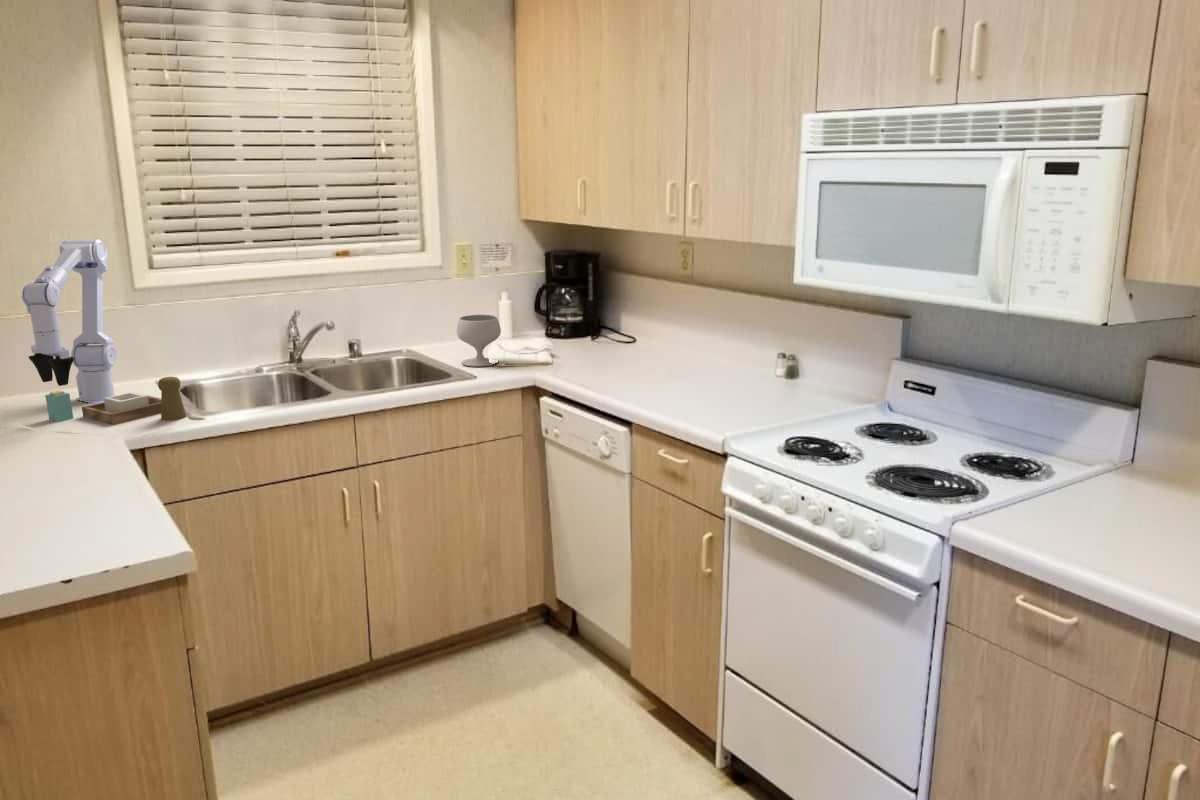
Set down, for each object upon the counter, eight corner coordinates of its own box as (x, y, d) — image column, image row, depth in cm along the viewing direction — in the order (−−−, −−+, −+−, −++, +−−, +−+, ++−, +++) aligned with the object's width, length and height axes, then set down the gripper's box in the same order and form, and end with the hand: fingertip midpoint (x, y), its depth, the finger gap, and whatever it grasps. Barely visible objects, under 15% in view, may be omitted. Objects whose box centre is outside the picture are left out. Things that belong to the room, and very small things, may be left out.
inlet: (106, 414, 241) (103, 398, 240) (133, 408, 247) (131, 392, 246) (122, 418, 237) (119, 401, 236) (149, 412, 243) (147, 395, 242)
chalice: (452, 361, 301) (450, 316, 297) (492, 357, 307) (490, 312, 303) (467, 370, 289) (465, 322, 285) (508, 365, 295) (506, 318, 291)
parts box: (83, 418, 239) (81, 407, 238) (141, 404, 252) (140, 393, 251) (113, 426, 232) (111, 414, 231) (172, 411, 245) (170, 400, 244)
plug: (49, 421, 237) (44, 392, 235) (65, 417, 240) (60, 389, 238) (57, 423, 235) (53, 394, 233) (73, 419, 238) (69, 391, 236)
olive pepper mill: (191, 415, 240) (186, 374, 238) (178, 422, 235) (173, 380, 232) (169, 415, 241) (163, 374, 238) (156, 421, 235) (150, 380, 232)
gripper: (15, 330, 232) (24, 383, 236) (45, 335, 224) (54, 390, 228) (44, 326, 238) (52, 377, 241) (74, 331, 230) (82, 384, 234)
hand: (55, 383), depth 235 cm, fingers open, 7 cm apart
